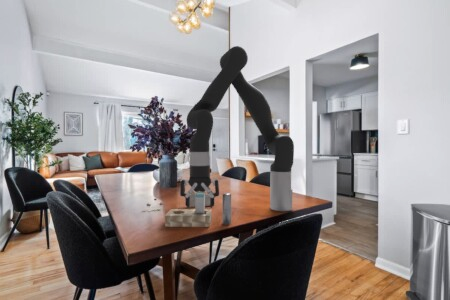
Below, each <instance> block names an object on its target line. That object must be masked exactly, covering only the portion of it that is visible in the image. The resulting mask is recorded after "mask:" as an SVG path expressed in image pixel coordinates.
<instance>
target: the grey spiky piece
mask: <svg viewBox="0 0 450 300" xmlns="http://www.w3.org/2000/svg"><path fill="white" fill-rule="evenodd" d="M196 193H205V207H209V206H210V198H211V197H210V195H209V194H208V193H207V192H206V191H204V192H201V191H198V192H196ZM196 193H195V191H194V190H193V191H192V193H191V194H190V195H189V197H190V207H194V208H195V194H196Z"/></svg>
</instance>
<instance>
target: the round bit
mask: <svg viewBox="0 0 450 300" xmlns="http://www.w3.org/2000/svg"><path fill="white" fill-rule="evenodd" d="M222 225H224V226H225V225H228V226H229V225H232V193H230V192H225V193H222Z"/></svg>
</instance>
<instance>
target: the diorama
mask: <svg viewBox="0 0 450 300" xmlns="http://www.w3.org/2000/svg"><path fill="white" fill-rule="evenodd" d="M153 200H154V201H157V198H153ZM151 205H152V204H151V203H149V202H147V203H146V207H148V208H149V207H151ZM158 205H159V206H160V207H159V208H157V211H159V210H160V211H161V209H160V208H161V207H162V206H163V205H164V202H160V203H158ZM153 211H156V209H148V212H153Z"/></svg>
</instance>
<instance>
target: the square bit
mask: <svg viewBox="0 0 450 300" xmlns="http://www.w3.org/2000/svg"><path fill="white" fill-rule="evenodd" d="M205 193H206V192H205ZM205 193H195V207H194V209H195V214H205V210H206V206H205Z"/></svg>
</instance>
